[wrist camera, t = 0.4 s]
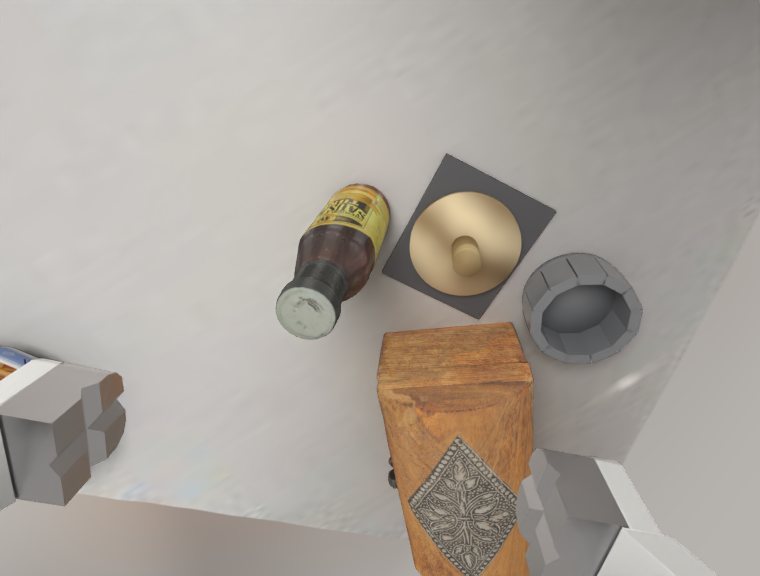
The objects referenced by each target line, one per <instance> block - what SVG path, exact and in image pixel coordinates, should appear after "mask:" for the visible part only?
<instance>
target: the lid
mask: <svg viewBox="0 0 760 576" xmlns="http://www.w3.org/2000/svg"><path fill="white" fill-rule="evenodd" d="M520 252H521V233H520V230H519V226H518V224H517V222H516V220H515V218H514V216H513V214H512V213H511V211H510V210H509V209H508V208H507V207H506V206H505V205H504V204H503V203H502V202H500V201H499V200H497V199H496V198H494V197H492V196H490V195H487V194H484V193H481V192H475V191H460V192H454V193H450V194H447V195H444V196H442V197H440V198H438V199H436V200H435V201H433V202H432V203H430V204H429V205H428V206H427V207H426V208H425V209H424V210H423V211H422V212H421V214H420V215H419V216H418V218H417V220H416V221H415V224H414V226H413V229H412V232H411V237H410V256H411V260H412V263H413V265H414V268H415V269H416V271H417V273H418V274H419V275H420V277H421V278H422V279H423V280H424V281H425V282H426V283H427V284H429V285H430V286H431V287H433V288H435V289H437V290H439V291H441V292H444V293H447V294H451V295H457V296H469V295H475V294H480V293H483V292H486V291H488V290H490V289H492V288H494V287H496V286H497V285H499V284H500V283H501V282H503V281H504V280H505V279H506V278H507V277H508V276H509V275H510V273H511V272H512V271H513V269H514V267H515V266H516V264H517V262H518V259H519V256H520Z"/></svg>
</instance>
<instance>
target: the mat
mask: <svg viewBox="0 0 760 576" xmlns="http://www.w3.org/2000/svg"><path fill="white" fill-rule="evenodd" d="M460 191H475V192H481V193H484V194H487V195H490V196H492V197H494V198H496V199H497V200H499V201H500V202H502V203H503V204H504V205H505V206H506V207H507V208H508V209H509V210H510V211H511V213H512V214H513V216H514V218H515V220H516V222H517V224H518V226H519V230H520V233H521V252H520V256H519V259H518V262H517V264H516V266H515V267H514V269H513V271H514V270H515V268H516V267H517V266H518V264H519V263H520V261H521V260H522V259H523V257H524V256H525V254H526V253H527V252H528V250H529V249H530V248H531V246H532V245H533V243H534V242H535V241H536V239H537V238H538V236H539V235H540V234H541V232H542V231H543V230H544V228H545V227H546V225H547V224H548V223H549V221H550V220H551V218H552V217H553V216H554V214H555V213H556V211H555V210H554V209H552V208H550V207H548V206H546V205H544V204H542V203H540V202H538V201H536V200H535V199H533V198H531V197H529V196H527V195H525V194H523V193H521V192H519V191H517V190H515V189H514V188H512V187H510V186H508V185H506V184H504V183H502V182H500V181H498V180H496V179H495V178H493V177H491V176H489V175H487V174H485V173H483V172H481V171H479V170H477V169H475V168H474V167H472V166H470V165H468V164H466V163H464V162H462V161H460V160H458V159H456V158H455V157H453V156H451V155H449V154H447V153H446V155H445V157H444V159H443V160H442V162H441V164H440V166H439V168H438V170H437V171H436V173H435V175H434V177H433V179H432V181H431V182H430V184H429V186H428V188H427V190H426V192H425V193H424V195H423V197H422V199H421V201H420V203H419V204H418V206H417V208H416V210H415V212H414V214H413V215H412V217H411V219H410V221H409V223H408V225H407V226H406V228H405V230H404V232H403V234H402V236H401V237H400V239H399V241H398V243H397V245H396V247H395V248H394V250H393V252H392V254H391V256H390V258H389V259H388V261H387V263H386V265H385V267H384V269H383V270H382V273H383V274H385V275H387V276H389V277H392V278H394V279H396V280H398V281H400V282H402V283H404V284H406V285H408V286H410V287H412V288H414V289H417V290H419V291H421V292H423V293H425V294H427V295H429V296H431V297H433V298H435V299H437V300H439V301H442V302H444V303H446V304H448V305H450V306H452V307H454V308H456V309H458V310H460V311H462V312H464V313H467V314H469V315H471V316H473V317H475V318H477V319H479V318H480V317H481V315H482V314H483V313H484V311H485V310H486V309H487V307H488V306H489V304H490V303H491V302H492V300H493V299H494V297H495V296H496V295H497V293H498V292H499V291H500V289H501V288H502V286H503V285H504V284H505V282H506V281H507V279H508V278H509V277H510V275H511V274H512V272H513V271H512V272H511V273H510V275H509V276H508V277H507V278H506V279H505V280H504V281H503V282H501V283H500V284H499V285H497V286H496V287H494V288H492V289H490V290H488V291H486V292H483V293H480V294H475V295H469V296H457V295H451V294H447V293H444V292H441V291H439V290H437V289H435V288H433V287H431V286H430V285H429V284H427V283H426V282H425V281H424V280H423V279H422V278H421V277H420V275H419V274H418V273H417V271H416V269H415V268H414V265H413V263H412V260H411V256H410V237H411V232H412V229H413V226H414V224H415V221H416V220H417V218H418V216H419V215H420V214H421V212H422V211H423V210H424V209H425V208H426V207H427V206H428V205H429V204H430V203H432V202H433V201H435V200H436V199H438V198H440V197H442V196H444V195H447V194H450V193H454V192H460Z"/></svg>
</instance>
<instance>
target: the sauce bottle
mask: <svg viewBox="0 0 760 576" xmlns="http://www.w3.org/2000/svg"><path fill="white" fill-rule="evenodd" d="M388 224H389V206H388V202H387V200H386V198H385V197H384V196H383V194H382V193H381V192H380V191H379V190H377V189H376V188H375V187H372V186H369V185H365V184H353V185H349V186H346V187H345V188H343V189H341V190H339V191H338V192H337V193H335V194H334V196H333V197H332V198H331V199H330V201H329V202H328V203H327V205H326V206H325V207H324V209H323V210H322V211H321V212H320V214H319V215H318V216H317V218H316V219H315V221H314V222H313V223H312V224H311V226H310V227H309V228H308V229H307V231H306V232H305V233H304V235H303V236H302V238H301V239H300V242H299V247H298V254H297V261H296V267H295V273H294V279H293V281H291V282H289V283H288V284H287V285H286V286H285V287H284V289H283V290H282V292H281V294H280V296H279V297H278V299H277V303H276V314H277V318H278V320H279V322H280V323H281V325H282V326H283V327H284V328H285V329H286V330H287V331H288V332H289V333H291V334H293V335H295V336H296V337H300V338H303V339H310V340H311V339H318V338H320V337H324V336H326V335H327V334H329V333H330V332H331V331H332V329H333V328H334V326H335V324H336V322H337V320H338V318H339V316H340V313H341V303H342V302H343V301H345V300H348V299H350V298H351V297H353V296H354V295H356V294H357V293H358V292H359V291H360V290H361V289H362V288H363V287H364V285H365V284H366V282H367V280H368V279H369V275H370V273H371V271H372V269H373V267H374V265H375V262H376V259H377V256H378V253H379V250H380V248H381V245H382V242H383V240H384V237H385V234H386V231H387V228H388Z"/></svg>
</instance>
